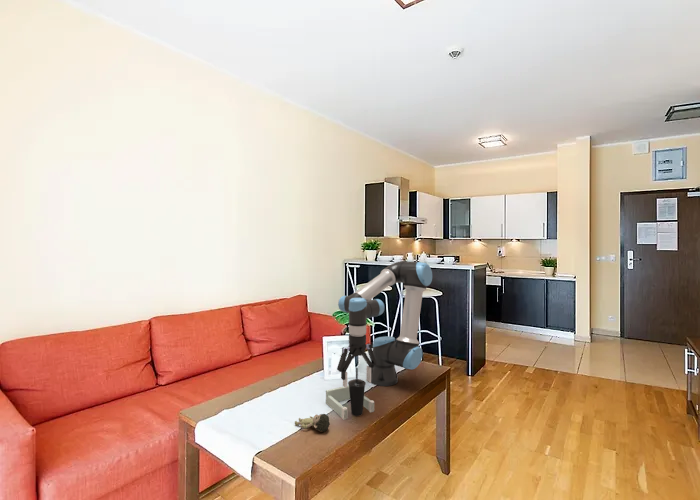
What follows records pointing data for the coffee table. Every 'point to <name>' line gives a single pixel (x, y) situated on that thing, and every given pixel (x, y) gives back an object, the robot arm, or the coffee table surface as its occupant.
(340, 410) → the bay
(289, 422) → the coffee table surface
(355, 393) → the drinking cup
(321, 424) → the figurine
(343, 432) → the coffee table surface
